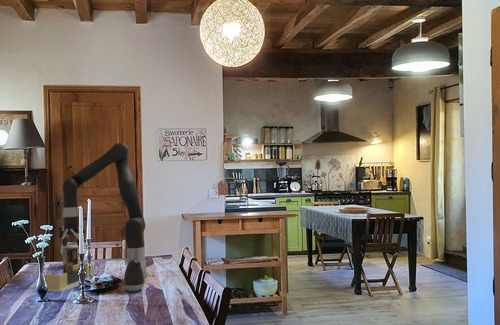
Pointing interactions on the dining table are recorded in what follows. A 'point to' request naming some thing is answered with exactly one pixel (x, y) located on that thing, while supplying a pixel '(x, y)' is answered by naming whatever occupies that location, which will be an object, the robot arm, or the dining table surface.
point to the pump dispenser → (134, 276)
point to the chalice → (71, 244)
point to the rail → (72, 276)
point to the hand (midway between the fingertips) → (72, 246)
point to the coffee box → (70, 258)
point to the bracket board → (64, 279)
